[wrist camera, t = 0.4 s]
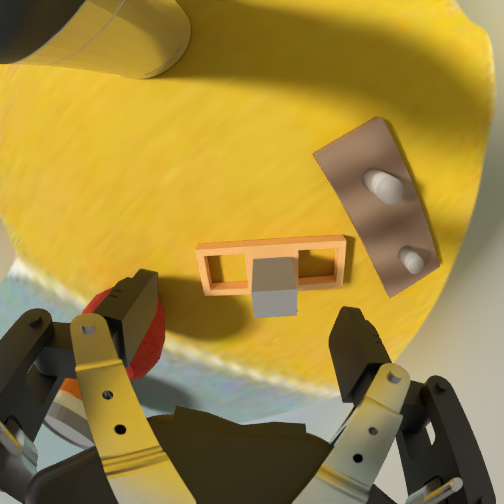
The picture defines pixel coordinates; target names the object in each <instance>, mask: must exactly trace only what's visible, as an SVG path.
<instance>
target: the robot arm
mask: <svg viewBox="0 0 504 504" xmlns="http://www.w3.org/2000/svg"><path fill="white" fill-rule="evenodd" d="M190 38H191V24H190V20H189V18H188V16H187V15H186V13H185V12H184V11H183V9H182V8H181V7H180V6H179V5H178V3H177V2H176V1H175V0H0V64H28V65H47V66H58V67H67V68H76V69H83V70H90V71H96V72H102V73H108V74H113V75H118V76H123V77H128V78H134V79H146V78H150V77H154V76H156V75H159V74H161V73H163V72H165V71H166V70H168V69H169V68H171V67H172V66H173V65H174V64H175V63H176V62H177V61H178V60H179V59H180V58H181V57H182V55H183V54H184V53H185V51H186V49H187V47H188V45H189V41H190ZM157 305H158V273H157V272H155V271H150V270H145V269H140V270H139V271H138V272H137V273H136V274H135V276H134V277H133V278H129V277H127V278H125V279H123V280H121V281H119V282H118V283H117V284H116V285H115V286H114V287H113V289H112V290H111V291H110V292H109V293H108V295H107V296H106V297H105V298H104V299H103V300H102V302H101V303H100V304H99V305H98V307H97V308H96V309H95V310H94V311H93V313H85V314H81V315H79V316H77V317H75V318H74V319H73V320H72V322H71V323H60V322H53V321H52V318H51V315H50V313H49V312H48V311H46V310H44V309H40V308H36V309H31V310H28V311H26V312H25V313H24V314H23V315H22V316H21V317H20V318H19V319H18V320H17V321H16V322H15V323H14V325H13V326H12V327H11V328H10V329H9V330H8V332H7V333H6V334H5V335H4V336H3V337H2V339H1V340H0V491H2V492H6V493H7V494H9V495H10V496H12V497H13V498H15V499H16V500H18V501H19V502H21V503H23V504H397V503H395V502H394V501H393V500H392V499H391V498H390V497H388V496H387V495H386V494H385V493H384V492H383V491H381V490H380V489H379V488H378V487H377V486H376V485H375V484H373V482H374V481H375V478H376V477H377V475H378V473H379V471H380V469H381V467H382V465H383V463H384V461H385V459H386V457H387V454H388V452H389V450H390V448H391V445H392V443H393V441H394V439H395V437H396V441H397V445H398V449H399V454H400V458H401V462H402V467H403V471H404V476H405V481H406V486H407V492H408V499H407V500H406V503H405V504H496V498H495V494H494V490H493V487H492V484H491V481H490V477H489V474H488V471H487V468H486V465H485V462H484V460H483V457H482V454H481V451H480V449H479V446H478V444H477V441H476V439H475V436H474V434H473V431H472V429H471V426H470V424H469V422H468V419H467V417H466V415H465V413H464V410H463V408H462V406H461V404H460V402H459V400H458V398H457V396H456V393H455V392H454V390H453V387H452V386H451V384H450V383H449V382H448V381H447V380H446V379H444V378H443V377H441V376H436V375H435V376H431V377H430V378H428V380H427V381H426V382H425V384H423V383H419V382H416V381H412V380H410V376H409V374H408V373H407V371H406V370H405V369H404V368H402V367H401V366H399V365H397V364H393V363H392V362H391V360H390V358H389V355H388V353H387V351H386V349H385V347H384V345H383V344H382V341H381V339H380V337H379V334H378V332H377V330H376V328H375V327H374V326H373V325H372V324H371V323H370V322H369V321H368V320H365V318H364V316H363V314H362V312H361V310H360V309H359V308H353V307H346V306H343V307H342V308H341V310H340V312H339V314H338V317H337V319H336V321H335V324H334V326H333V328H332V331H331V333H330V336H329V349H330V353H331V357H332V361H333V365H334V369H335V373H336V377H337V381H338V385H339V389H340V393H341V397H342V401H343V402H344V403H353V404H354V407H353V408H352V410H351V411H350V412H349V414H348V416H347V417H346V419H345V420H344V422H343V423H342V425H341V426H340V428H339V429H338V431H337V432H336V434H335V435H334V436H333V438H332V439H331V441H330V442H329V443H328V442H326V441H325V440H323V439H321V438H319V437H317V436H315V435H312V434H310V433H306V425H305V424H301V423H284V422H269V423H260V424H249V425H240V424H237V423H234V422H231V421H228V420H226V419H223V418H221V417H218V416H215V415H213V414H210V413H208V412H202V411H197V410H192V409H188V408H183V407H179V406H176V409H175V412H174V414H166V415H157V416H152V417H149V418H146V417H145V415H144V413H143V410H142V408H141V406H140V404H139V402H138V399H137V397H136V395H135V392H134V390H133V388H132V385H131V383H130V380H129V378H128V375H127V373H126V370H125V368H124V367H127V368H128V367H129V365H130V363H131V361H132V359H133V357H134V355H135V353H136V351H137V349H138V347H139V345H140V343H141V341H142V339H143V337H144V335H145V334H146V332H147V330H148V328H149V326H150V324H151V322H152V320H153V318H154V316H155V314H156V311H157ZM33 363H34V364H33ZM32 364H33V365H32ZM31 366H32V367H31ZM30 367H31V368H30ZM29 369H30V370H29ZM28 370H29V371H28ZM27 372H28V373H27ZM65 378H71V379H77V381H78V385H79V389H80V394H81V398H82V402H83V405H84V409H85V413H86V416H87V420H88V423H89V426H90V429H91V433H92V436H93V439H94V442H95V445H94V446H92V447H90V448H88V449H86V450H84V451H82V452H80V453H78V454H76V455H74V456H71V457H69V458H67V459H65V460H63V461H60V462H58V463H56V464H54V465H52V466H49V467H47V468H44V469H42V470H41V471H39V472H38V473H37V470H36V467H37V460H38V453H37V449H36V447H35V445H34V444H33V442H34V440H35V438H36V436H37V433H38V431H39V429H40V427H41V425H42V423H43V421H44V419H45V417H46V414H47V412H48V410H49V408H50V406H51V404H52V403H53V401H54V399H55V397H56V395H57V393H58V391H59V389H60V387H61V385H62V384H63V382H64V380H65ZM430 422H431V423H432V426H433V429H434V432H435V441H434V443H433V445H431V442H430V439H429V436H428V433H427V430H426V426H427V424H428V423H430Z"/></svg>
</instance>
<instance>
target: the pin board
mask: <svg viewBox="0 0 504 504" xmlns="http://www.w3.org/2000/svg"><path fill="white" fill-rule="evenodd" d="M313 156H314V158H315V159H316V161H317V162H318V164H319V166H320V167H321V169H322V171H323V172H324V174H325V175H326V177H327V179H328V181H329V182H330V184H331V186H332V187H333V189H334V191H335V193H336V194H337V196H338V198H339V200H340V201H341V203H342V205H343V207H344V209H345V210H346V212H347V214H348V216H349V218H350V220H351V221H352V223H353V225H354V227H355V229H356V231H357V233H358V235H359V237H360V239H361V241H362V243H363V245H364V247H365V249H366V251H367V253H368V255H369V257H370V259H371V261H372V263H373V265H374V267H375V269H376V271H377V273H378V276H379V278H380V280H381V282H382V284H383V287H384V289H385V291H386V293H387V295H388V296H389V298H391V297H393V296H395V295H396V294H398V293H400V292H401V291H403V290H404V289H406V288H408V287H409V286H411V285H412V284H414V283H416V282H417V281H419V280H420V279H422V278H423V277H425V276H426V275H428V274H430V273H431V272H433V271H434V270H436V269H437V268H438V267H440V265H439V261H438V257H437V253H436V250H435V246H434V243H433V239H432V236H431V233H430V230H429V226H428V223H427V220H426V217H425V214H424V211H423V209H422V206H421V203H420V200H419V198H418V195H417V192H416V190H415V187H414V185H413V182H412V180H411V177H410V175H409V172H408V170H407V168H406V165H405V163H404V161H403V159H402V156H401V154H400V152H399V150H398V148H397V146H396V144H395V141H394V139H393V137H392V135H391V133H390V131H389V129H388V127H387V126H386V124H385V122H384V120H383V118H382V117H375V118H373V119H371V120H369V121H368V122H366V123H364V124H362V125H361V126H359V127H357V128H355V129H354V130H352V131H350V132H348V133H347V134H345V135H343V136H342V137H340V138H338V139H336V140H335V141H333V142H331V143H330V144H328V145H326V146H325V147H323V148H321V149H320V150H318V151H316V152H315V153H313Z"/></svg>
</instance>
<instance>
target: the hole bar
mask: <svg viewBox="0 0 504 504" xmlns="http://www.w3.org/2000/svg"><path fill="white" fill-rule="evenodd" d="M326 248H335V261H334V275H332V276H319V277H305V278H298V250H311V249H326ZM195 251H196V257H197V262H198V267H199V272H200V277H201V282H202V286H203V291H204V296H218V295H241V294H252V302H253V312H254V318H263V317H280V316H295V315H297V291H306V290H319V289H331V288H342V286H343V276H344V266H345V253H346V239H345V237H344V236H343V235H328V236H311V237H294V238H278V239H262V240H246V241H231V242H217V243H202V244H198V245H197V247H196V249H195ZM231 254H245V261H246V270H247V279H248V281H240V282H220V283H212V280H211V275H210V269H209V264H208V258H207V256H215V255H231Z"/></svg>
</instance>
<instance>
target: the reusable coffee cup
mask: <svg viewBox="0 0 504 504" xmlns="http://www.w3.org/2000/svg"><path fill="white" fill-rule="evenodd" d="M42 424H43V425H44V426H45V427H47V428H48V429H49V430H50V431H51V432H53V433H54V434H56V435H57V436H58V437H60V438H62V439H63V440H65V441H67V442H69V443H70V444H72V445H75V446H77V447H79V448H82V449H84V450H86V449H88V448H90V447H92V446H94V445H95V442H94V439H93V436H92V433H91V429H90V426H89V423H88V420H87V416H86V413H85V409H84V405H83V402H82V398H81V394H80V389H79V385H78V381H77V379H71V378H65V380H64V382H63V384H62V385H61V387H60V389H59V391H58V393H57V395H56V397H55V399H54V401H53V403H52V404H51V406H50V408H49V410H48V412H47V414H46V417H45V419H44V421H43V423H42Z"/></svg>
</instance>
